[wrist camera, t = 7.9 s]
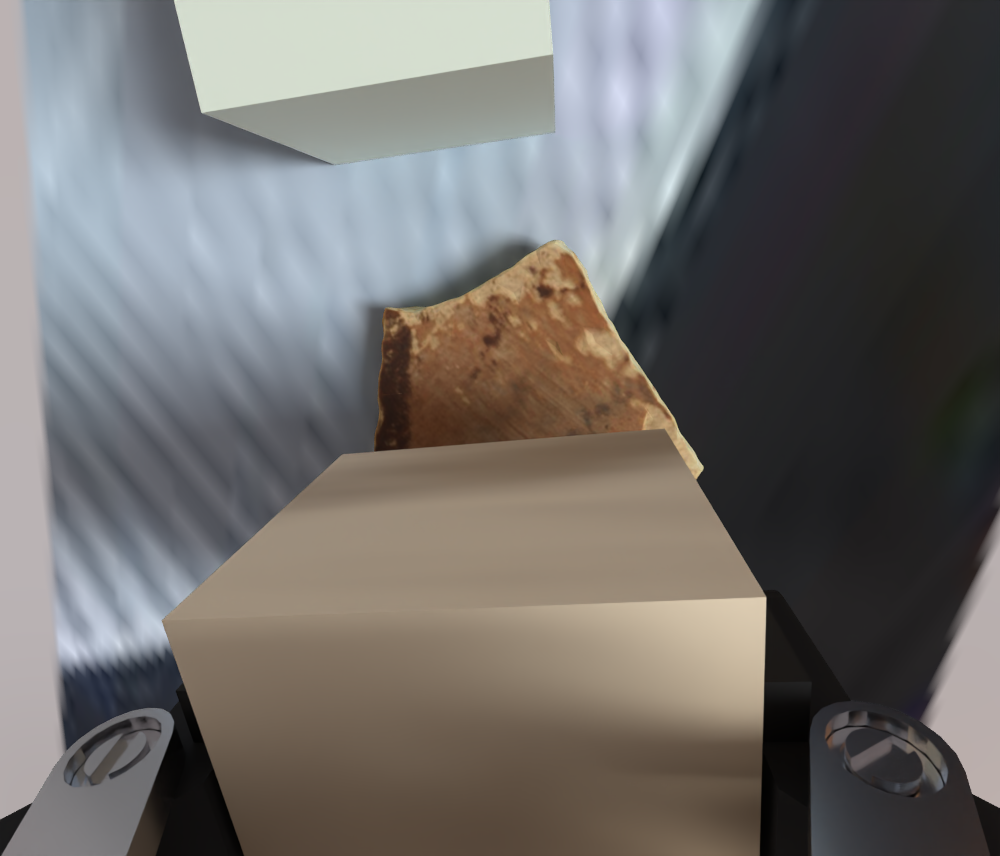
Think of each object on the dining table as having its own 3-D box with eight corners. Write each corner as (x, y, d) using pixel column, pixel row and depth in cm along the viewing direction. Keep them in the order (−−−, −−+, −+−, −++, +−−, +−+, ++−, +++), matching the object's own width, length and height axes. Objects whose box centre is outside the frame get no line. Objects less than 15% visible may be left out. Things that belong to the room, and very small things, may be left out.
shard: (380, 635, 17) (360, 678, 15) (217, 436, 15) (174, 459, 14) (702, 462, 14) (721, 491, 12) (541, 199, 13) (538, 191, 11)
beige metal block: (342, 454, 10) (161, 620, 6) (664, 428, 10) (766, 597, 5) (396, 705, 12) (292, 993, 7) (673, 702, 11) (754, 1021, 7)
